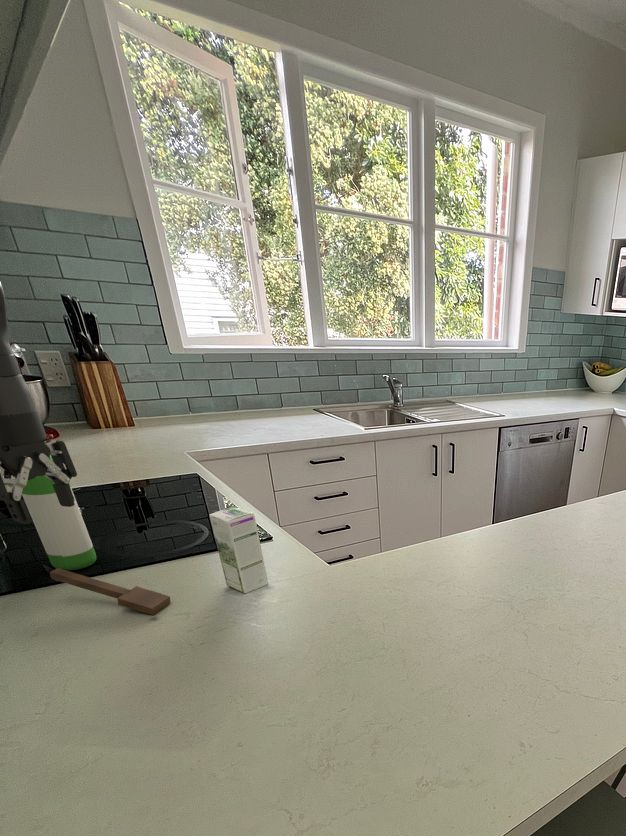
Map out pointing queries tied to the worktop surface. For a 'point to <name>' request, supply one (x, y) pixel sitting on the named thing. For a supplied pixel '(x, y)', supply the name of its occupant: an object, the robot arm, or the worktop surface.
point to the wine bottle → (58, 526)
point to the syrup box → (239, 549)
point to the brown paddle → (116, 592)
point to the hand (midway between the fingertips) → (47, 514)
